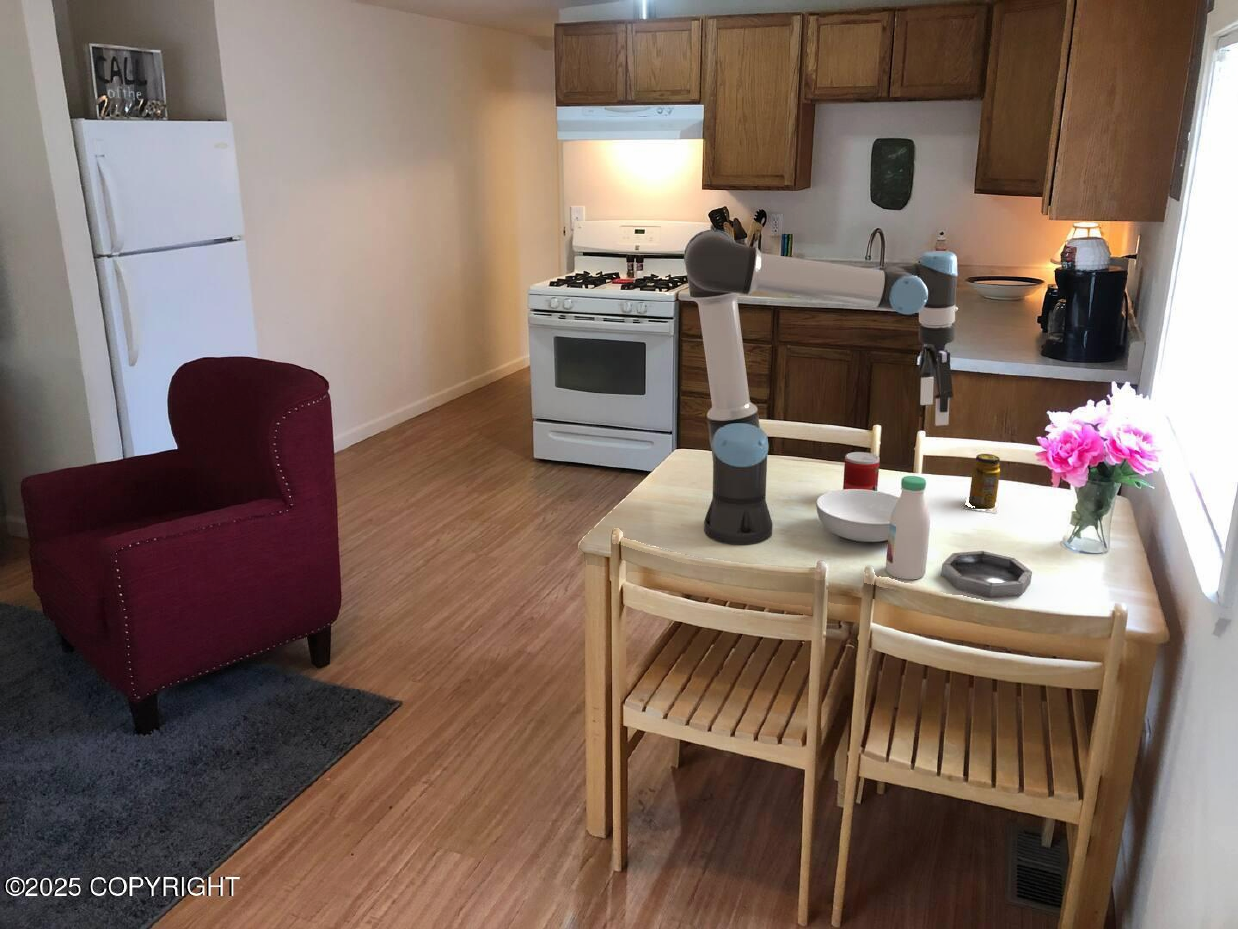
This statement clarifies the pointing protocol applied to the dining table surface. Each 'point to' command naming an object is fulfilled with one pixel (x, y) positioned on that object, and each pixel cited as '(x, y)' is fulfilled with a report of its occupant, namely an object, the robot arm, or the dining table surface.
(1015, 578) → the grey octagonal tray
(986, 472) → the condiment
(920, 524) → the milk bottle
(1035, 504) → the dining table surface
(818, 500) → the serving bowl
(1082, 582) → the dining table surface
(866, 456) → the canned food
